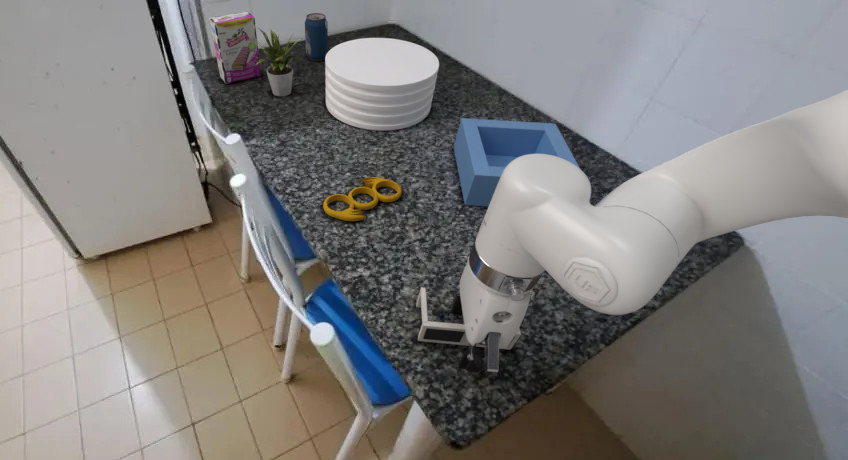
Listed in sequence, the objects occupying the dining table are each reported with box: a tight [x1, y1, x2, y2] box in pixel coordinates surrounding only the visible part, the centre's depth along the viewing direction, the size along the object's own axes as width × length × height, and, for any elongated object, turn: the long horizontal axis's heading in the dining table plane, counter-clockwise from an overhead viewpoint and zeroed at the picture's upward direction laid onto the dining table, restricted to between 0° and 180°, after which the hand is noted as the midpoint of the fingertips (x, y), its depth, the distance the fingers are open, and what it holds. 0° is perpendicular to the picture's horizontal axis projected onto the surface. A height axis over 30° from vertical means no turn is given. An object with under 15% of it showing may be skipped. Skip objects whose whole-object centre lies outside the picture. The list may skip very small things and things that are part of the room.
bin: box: [453, 117, 581, 208], centre depth 80 cm, size 20×20×8 cm
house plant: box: [250, 27, 305, 97], centre depth 102 cm, size 14×14×16 cm
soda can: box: [304, 12, 329, 62], centre depth 120 cm, size 7×7×12 cm
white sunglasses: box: [415, 286, 522, 350], centre depth 57 cm, size 6×13×4 cm, turn 84°
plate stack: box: [324, 37, 440, 132], centre depth 100 cm, size 28×28×12 cm
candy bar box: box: [208, 11, 262, 85], centre depth 108 cm, size 11×5×16 cm, turn 122°
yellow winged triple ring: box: [322, 176, 402, 222], centre depth 77 cm, size 17×2×10 cm
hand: (465, 338), depth 55 cm, fingers open, 7 cm apart
